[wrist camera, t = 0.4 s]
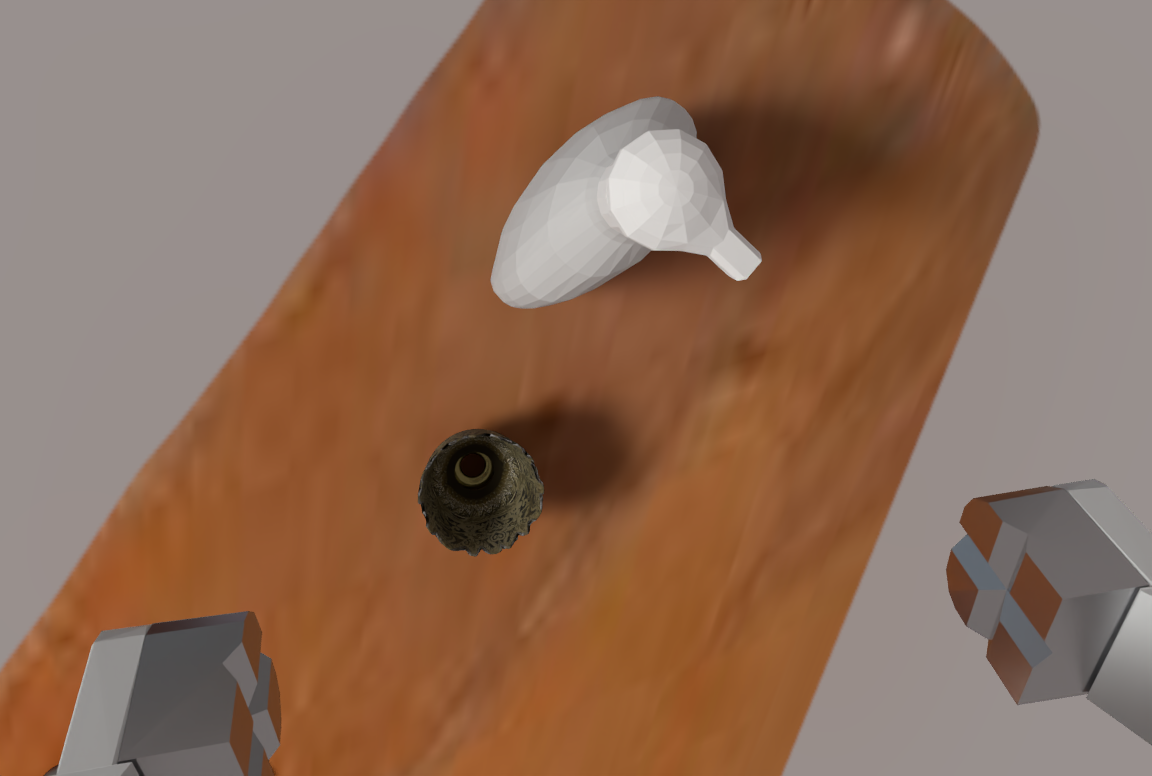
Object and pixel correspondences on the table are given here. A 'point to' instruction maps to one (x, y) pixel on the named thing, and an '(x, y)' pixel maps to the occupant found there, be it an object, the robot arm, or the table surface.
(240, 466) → the table surface
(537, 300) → the soap bottle
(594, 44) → the table surface
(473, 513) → the cup
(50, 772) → the stamp
